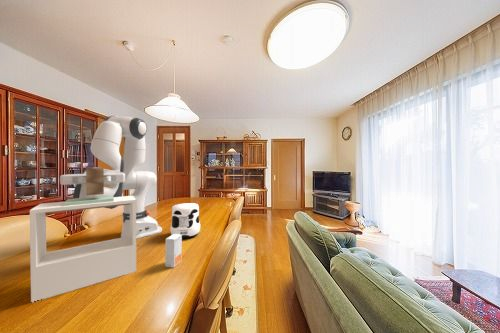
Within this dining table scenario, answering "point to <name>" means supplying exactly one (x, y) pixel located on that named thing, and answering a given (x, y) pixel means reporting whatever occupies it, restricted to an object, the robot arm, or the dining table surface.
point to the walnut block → (94, 181)
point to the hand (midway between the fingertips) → (95, 179)
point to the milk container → (185, 220)
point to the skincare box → (173, 250)
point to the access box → (78, 251)
